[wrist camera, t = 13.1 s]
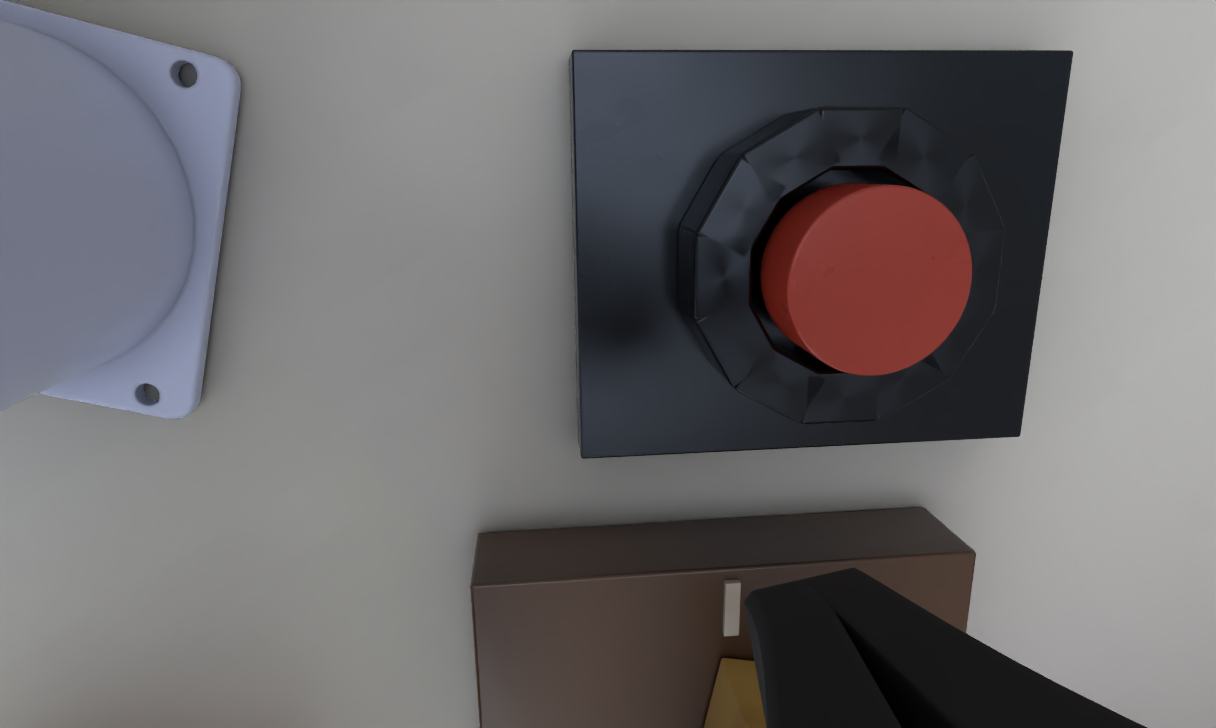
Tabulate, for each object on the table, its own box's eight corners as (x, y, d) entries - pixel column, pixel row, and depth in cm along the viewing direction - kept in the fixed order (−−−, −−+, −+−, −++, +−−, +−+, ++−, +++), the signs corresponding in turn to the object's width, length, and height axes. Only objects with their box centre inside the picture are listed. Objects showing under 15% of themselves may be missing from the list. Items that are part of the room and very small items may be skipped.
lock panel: (497, 844, 22) (492, 934, 19) (477, 532, 19) (469, 589, 17) (892, 805, 23) (938, 886, 20) (924, 505, 20) (981, 555, 18)
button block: (578, 441, 19) (586, 491, 16) (568, 57, 16) (577, 34, 14) (992, 421, 20) (1070, 465, 17) (1038, 58, 17) (1139, 36, 15)
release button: (755, 357, 16) (783, 380, 14) (763, 184, 15) (792, 186, 13) (917, 351, 16) (962, 372, 15) (934, 181, 15) (984, 183, 14)
